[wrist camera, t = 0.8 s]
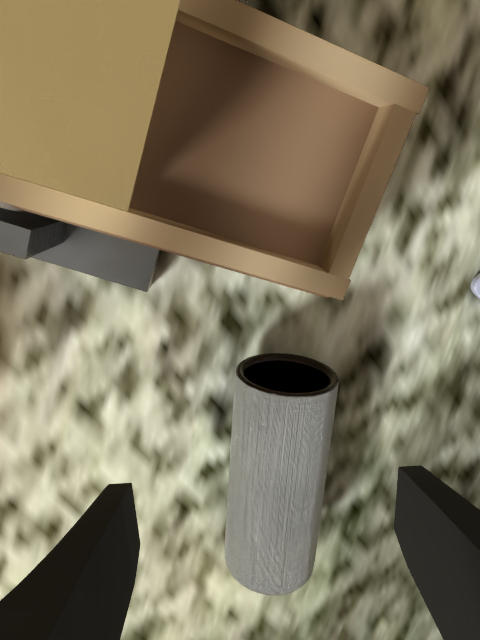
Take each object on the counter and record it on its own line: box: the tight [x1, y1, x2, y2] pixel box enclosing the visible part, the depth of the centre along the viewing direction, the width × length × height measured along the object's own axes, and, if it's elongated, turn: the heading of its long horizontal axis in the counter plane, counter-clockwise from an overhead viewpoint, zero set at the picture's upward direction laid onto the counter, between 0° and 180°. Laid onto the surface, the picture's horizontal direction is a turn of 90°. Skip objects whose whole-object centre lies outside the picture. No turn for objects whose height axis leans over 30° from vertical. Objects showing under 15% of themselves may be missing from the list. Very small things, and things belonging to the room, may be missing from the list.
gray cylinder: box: [225, 353, 339, 595], centre depth 21 cm, size 4×4×10 cm
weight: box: [0, 0, 180, 211], centre depth 12 cm, size 5×5×4 cm
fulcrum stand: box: [0, 207, 161, 292], centre depth 16 cm, size 10×13×5 cm
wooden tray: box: [0, 0, 430, 300], centre depth 13 cm, size 24×8×2 cm, turn 71°
